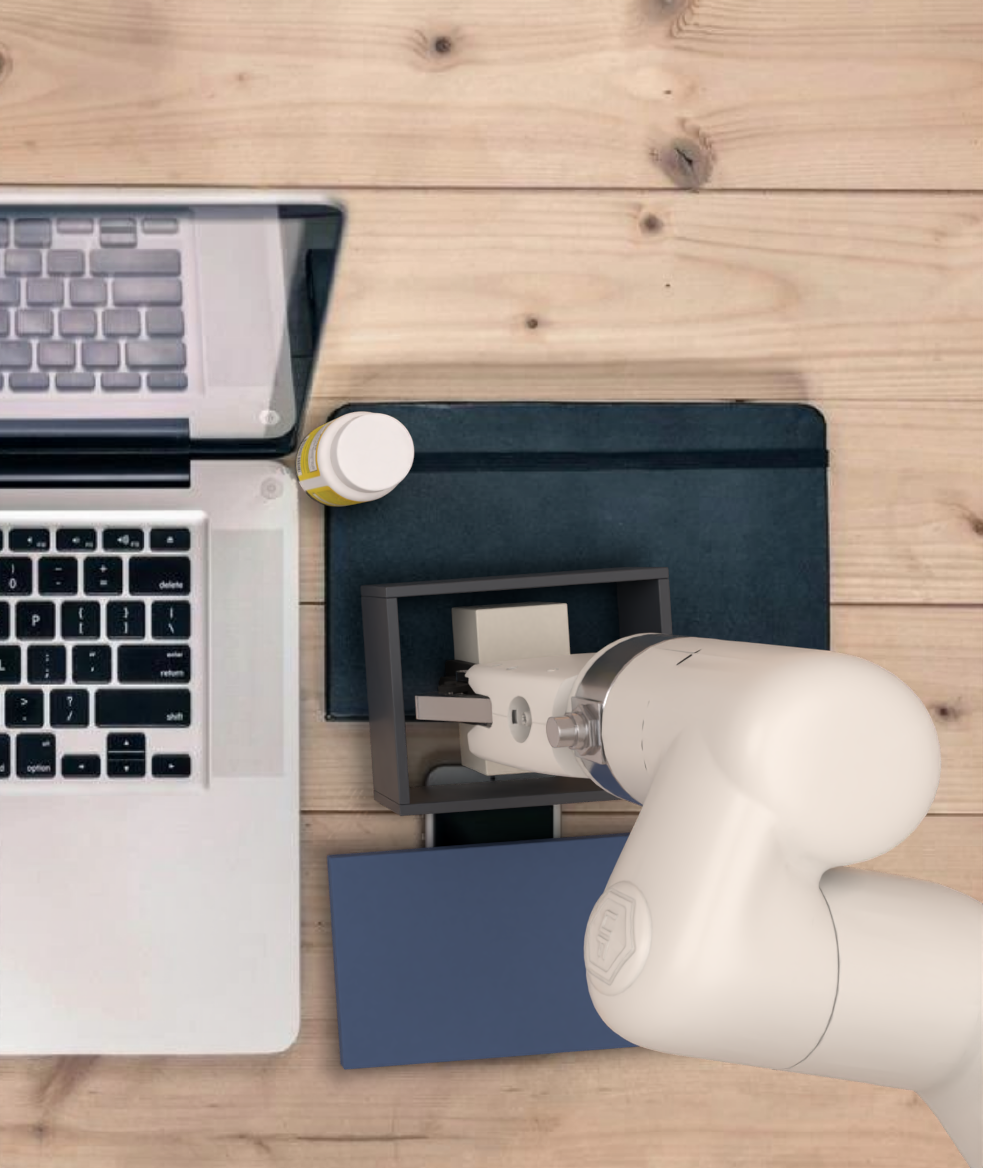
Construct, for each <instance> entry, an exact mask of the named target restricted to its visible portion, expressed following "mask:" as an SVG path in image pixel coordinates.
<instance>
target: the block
mask: <svg viewBox="0 0 983 1168" xmlns="http://www.w3.org/2000/svg"><path fill="white" fill-rule="evenodd" d="M451 621H452V622H451V623H452V636H453V637H452V639H453V653H454V654H453V655H454V660H461V661H466V662H471V663H476V664H482V663H491V662H500V661H508V660H517V659H526V658H536V657H546V656H558V655H569V654H571V647H570V646H571V645H570V629H569V614H568V604H567V603H566V602H554V601H538V600H537V601H536V600H535V601H523V602H509V603H493V604H480V605H479V604H477V605H467V606H452V607H451ZM474 726H476V725H471V724H464V723H459V722H458V731H459V747H460V762H461V766H463V767H465V768H468V769H470V770H472V771H475V772H477V773H479V774H482V775H484V776H486V777H490V776H503V775H504V776H505V775H516V774H517V775H519V774H531V773H532V774H533V773H534V772H531V771H526V770H521V769H517V768H513V767H509V766H506V765H502V764H498V763H495V762H491V761H488V760H484V759H481V758H479V757H477V756H475V755H474V754H473V753H472V752H471V751H470V750H469V744H468V737H467V733H468V732H469V731H470V730H471V729H472V728H473V727H474Z"/></svg>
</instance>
